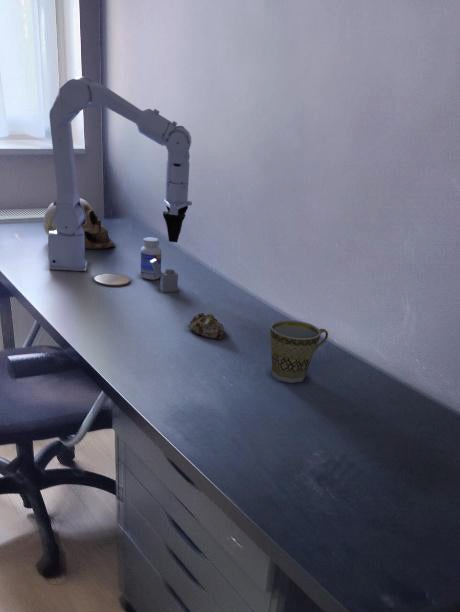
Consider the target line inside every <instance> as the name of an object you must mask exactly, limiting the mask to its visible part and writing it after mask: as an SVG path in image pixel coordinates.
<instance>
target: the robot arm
mask: <svg viewBox="0 0 460 612" xmlns="http://www.w3.org/2000/svg"><path fill="white" fill-rule="evenodd" d="M90 106H91V107H90ZM88 107H90V108H91V109H92V108H106V109H108V110H110V111H112V112H114V113H115V114H117V115H119V116H121V117H123V118H125V119H126V120H128V121H130V122H132V123H133V124H135V125H136V126H137V130H138V133H140V134H141V135H143V136H145V137H146V138H148V139H149V140H151V141H153V142H155V143H156V144H158V145H160V146H161V147H166V150H167V160H166V162H165V187H164V188H165V189H164V190H165V192H164V199H163V203H164V204H165V206H166V209H167V211H162V217H163V219H164V221H165V225H166V230H167V237H168V242H170V243H178V241H179V238H180V235H181V232H182V226H183V222H184V220H185V218H186V212H187V210H188V209H189V206H192V205H193V201H192V200H188V199H189V197H188V196H189V180H190V149H191V145H192V136H191V134H190V131H189V130H188V129H187V128H185V127H184V125H178V122H177V121H174V120H173V121H171V120H169V119H167V118H166V117H164V116H162V114H160V111H159V110H158V109H156V108H154V109H153V110H152V108H147V109H144V110H142V109H140V108H138V107H137V106H136V105H134V104H133V103H132V102H130V101H128V100H127V99H125V98H124V97H122V96H120V95H119V94H117V93H116V92H115V91H113V90H111V89H110V88H108V87H107V86H105V85H103V84H102V83H99V82H97V81H95V80H94V81H93V80H92V79H90V78H89V77H87V76H77V77H75V78H71V79H69V80H67V81H66V82H65V83H64V84H63V85H61V87H59V88H58V92H57V95H56V97H55V99H54V102H53V104H52V106H51V108H50V110H49V113H48V114H49V116H48V118H49V127H50V137H51V145H52V153H53V162H54V173H55V179H56V180H55V181H56V192H57V195H56V213H55V216H54V224H55V226H56V228H57V229H56V231H49V233H48V235H47V246H48V248H47V249H48V254H47V257H48V266H49V267H48V269H49V270H56V271H75V272H86V271H87V267H88V261H87V260H86V248H85V240H84V229H83V228H82V225H81V224H82V223H83V222H84V220H85V211H84V209H83V207H82V205H81V202H80V198H81V196H80V193H79V192H78V191H79V190H78V183H77V181H78V180H77V171H76V162H75V161H76V159H75V149H74V148H75V147H74V140H73V139H74V137H73V128H72V121H74V120H75V118H76V117H77V116H78V115H79V114H80V112H81V111H83V110H84V109H86V108H88Z"/></svg>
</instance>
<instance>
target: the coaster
mask: <svg viewBox="0 0 460 612" xmlns="http://www.w3.org/2000/svg"><path fill="white" fill-rule="evenodd" d="M94 282H95V283H97V284H99V285H102V286H106V287H123V286H126V285H128V284H130V282H131V280H130V277H128V276H127V275H123V274H117V273H102V274H98V275H96V276H94Z"/></svg>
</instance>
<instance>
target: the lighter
mask: <svg viewBox="0 0 460 612" xmlns="http://www.w3.org/2000/svg"><path fill="white" fill-rule="evenodd" d="M150 262H151V265H152V267H153V269H154V272H155V274H156V276H157V277H160V282H159V283H160V284H159V285H160V286H159V290H160V292H162V293H171V292H172V293H173V292H174V293H175V292H178V284H179V273H177V272H176V271H175V270H174V269H172V268H169V269H165V272H162V268H161V269H160V267H159V265H158V262H157V260H156V259H155V258H154V259H153V260H151V261H150Z"/></svg>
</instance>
